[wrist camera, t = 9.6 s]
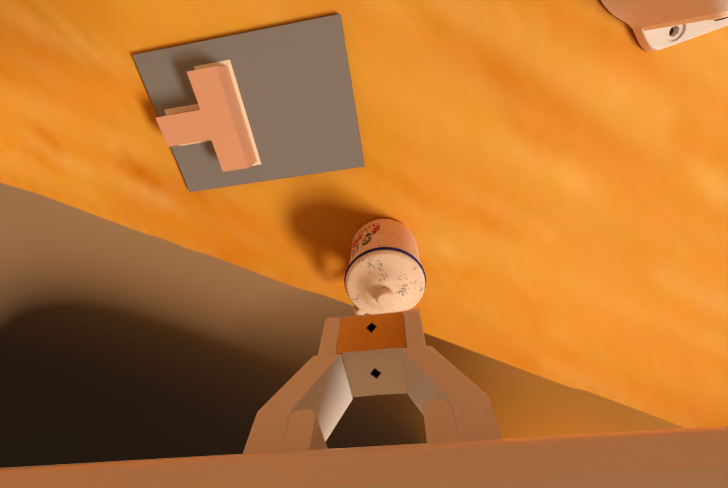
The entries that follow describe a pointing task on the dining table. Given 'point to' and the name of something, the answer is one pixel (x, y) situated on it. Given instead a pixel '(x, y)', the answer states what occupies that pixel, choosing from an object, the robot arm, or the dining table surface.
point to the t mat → (267, 100)
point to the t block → (213, 119)
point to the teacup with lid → (384, 269)
